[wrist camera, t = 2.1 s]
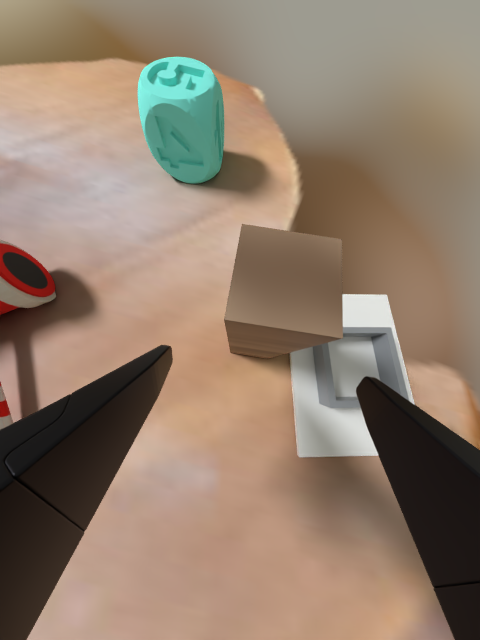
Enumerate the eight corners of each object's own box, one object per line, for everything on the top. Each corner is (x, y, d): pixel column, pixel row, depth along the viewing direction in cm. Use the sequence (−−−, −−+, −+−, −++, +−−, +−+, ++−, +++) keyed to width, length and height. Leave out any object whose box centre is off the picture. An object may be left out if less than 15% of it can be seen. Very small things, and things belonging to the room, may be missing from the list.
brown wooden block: (267, 358, 18) (342, 338, 6) (230, 352, 18) (224, 319, 6) (271, 322, 19) (341, 239, 7) (236, 317, 19) (242, 223, 7)
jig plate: (421, 451, 16) (454, 466, 14) (297, 454, 16) (308, 470, 14) (383, 296, 21) (402, 287, 18) (284, 295, 20) (291, 285, 18)
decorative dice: (215, 188, 24) (207, 106, 17) (160, 179, 24) (126, 93, 17) (225, 150, 27) (222, 61, 19) (175, 142, 27) (151, 51, 19)
